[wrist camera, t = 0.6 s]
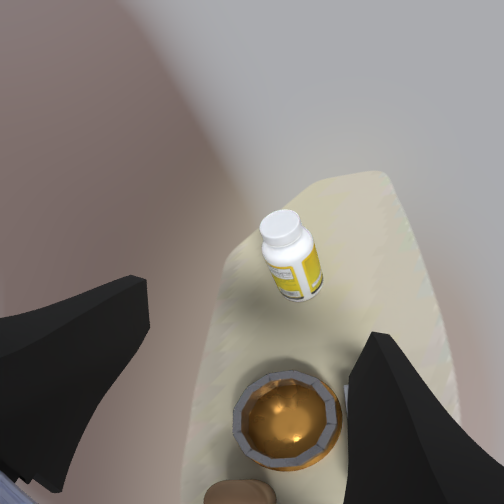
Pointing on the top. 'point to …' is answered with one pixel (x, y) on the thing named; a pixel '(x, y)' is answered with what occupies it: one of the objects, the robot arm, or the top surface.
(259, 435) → the ring
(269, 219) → the supplement bottle
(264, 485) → the brown tapered cylinder
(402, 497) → the robot arm
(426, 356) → the top surface
